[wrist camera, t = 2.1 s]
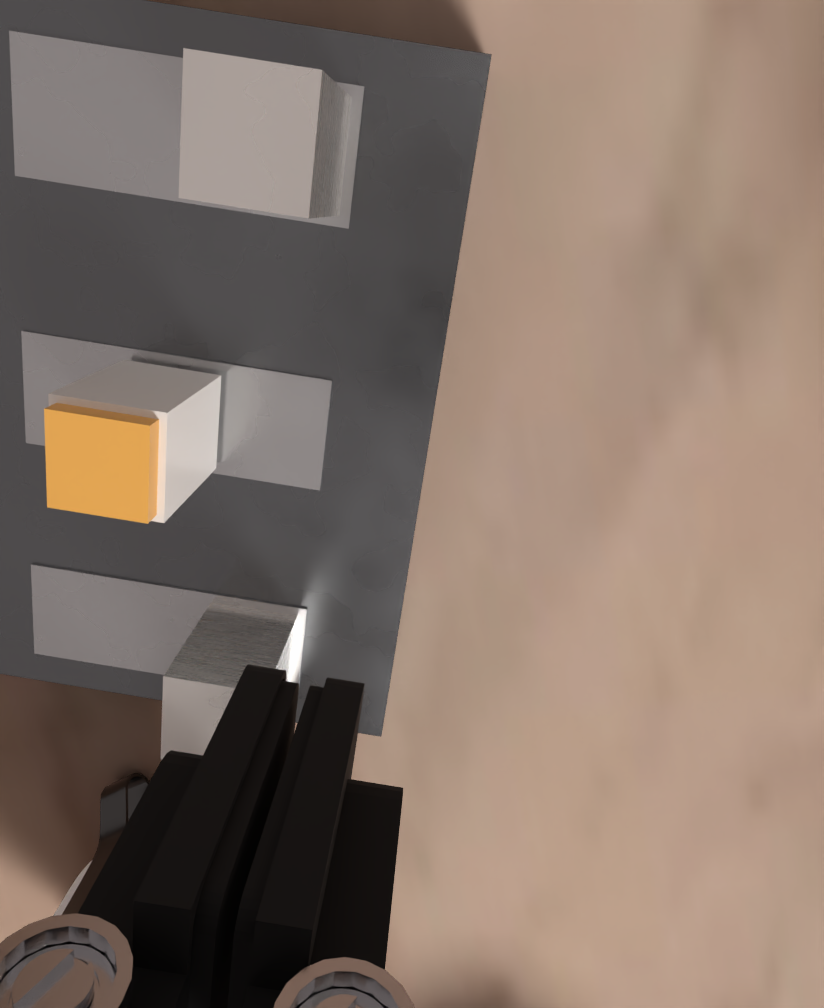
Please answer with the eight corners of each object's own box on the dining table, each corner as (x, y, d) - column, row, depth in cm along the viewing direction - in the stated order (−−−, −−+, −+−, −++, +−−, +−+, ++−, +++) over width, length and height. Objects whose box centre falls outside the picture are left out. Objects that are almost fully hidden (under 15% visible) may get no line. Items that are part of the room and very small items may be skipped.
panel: (-62, -20, 22) (-266, -106, 16) (489, 67, 22) (497, 14, 16) (-17, 637, 30) (-141, 747, 24) (386, 703, 30) (365, 831, 24)
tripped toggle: (123, 359, 23) (35, 399, 19) (221, 375, 23) (158, 419, 19) (122, 453, 24) (39, 513, 20) (216, 468, 24) (155, 531, 20)
